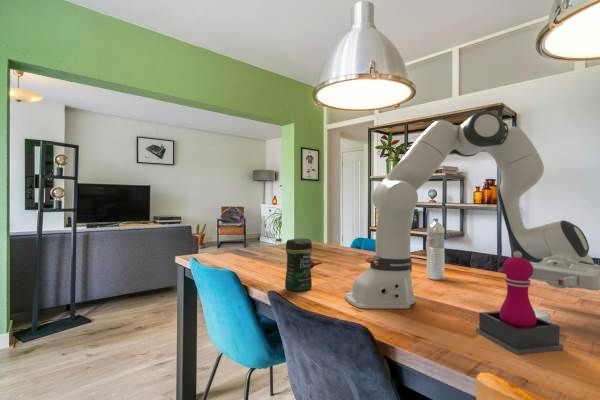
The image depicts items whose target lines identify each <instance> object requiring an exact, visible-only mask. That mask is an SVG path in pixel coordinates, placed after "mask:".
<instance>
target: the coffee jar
mask: <svg viewBox="0 0 600 400" xmlns="http://www.w3.org/2000/svg"><path fill="white" fill-rule="evenodd" d="M312 244H313V243H312V240H311V239H309V238H292V239H287V240H286V243H285V253H286V272H285V282H284V286H285V289H286V290H287V291H289V292H291V291H292V292H303V291H304V292H305V291H308V290H311V289H312V283H313V282H312V280H313V279H312V272H311V271H312V269H311V266H310V260H311V256H312V251H313V245H312Z"/></svg>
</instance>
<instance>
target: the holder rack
mask: <svg viewBox="0 0 600 400" xmlns="http://www.w3.org/2000/svg"><path fill="white" fill-rule="evenodd" d="M499 314H500V310H494V311H482V312H479V316H478V318H479V320H478V321H479V322H478V323H479V324H478V326H479V327H475V332H476V333H477V334H479V335H481V336H482V337H484V338H486V339H488V340H490V341H492V342H493V343H495V344H497V345H499V346H501V347H503V348H504V349H506V350H508V351H510V352H511V353H514V354H515V355H517V356H519V355H528V354H537V353H546V352H555V351H563V350H564V348H565V347H564V344H561V342H560V328H561V327H560V326H559V325H557V324H554V323H552V322H551V323H550V322H547V321H545V320H542V319H540V318H537V317H536V325H535V326H534V327H525V328H516V327H514V326H512V325H510V324H507V323H505V322H503V321H502V320H501V319H500V316H499Z"/></svg>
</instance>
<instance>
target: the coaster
mask: <svg viewBox="0 0 600 400" xmlns="http://www.w3.org/2000/svg"><path fill="white" fill-rule="evenodd" d="M532 308H533V310H534V312H535V315H536V317H537V318H540V319H542V320H545V321H547V322H550V323H552V315H551V313H549V312H548V311H546V310H544V309H542V308H538V307H534V306H532Z"/></svg>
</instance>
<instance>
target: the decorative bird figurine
mask: <svg viewBox="0 0 600 400" xmlns="http://www.w3.org/2000/svg"><path fill="white" fill-rule="evenodd" d="M322 264H323V262H320V261H319V262H315V261H313V260H312V259H310V266H311V270H312V269H314V267H315V266H318V265H322Z"/></svg>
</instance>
